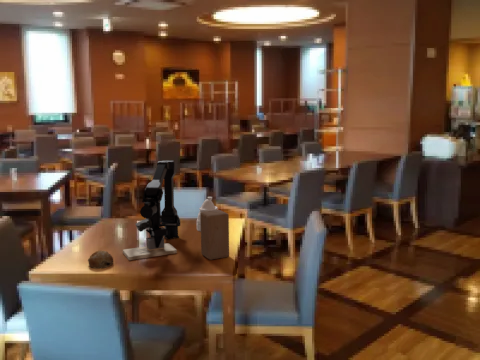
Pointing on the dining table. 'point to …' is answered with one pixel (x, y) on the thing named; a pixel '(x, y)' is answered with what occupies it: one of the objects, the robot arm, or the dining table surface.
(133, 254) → the board
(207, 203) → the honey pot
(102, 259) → the brown dome
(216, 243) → the wooden block
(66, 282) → the dining table surface
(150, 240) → the block
